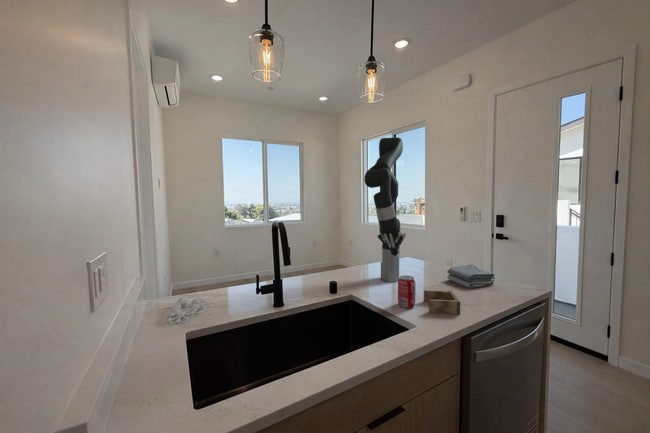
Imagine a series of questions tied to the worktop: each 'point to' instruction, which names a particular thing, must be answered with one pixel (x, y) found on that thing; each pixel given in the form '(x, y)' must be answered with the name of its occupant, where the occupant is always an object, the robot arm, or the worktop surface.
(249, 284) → the worktop surface
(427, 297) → the wooden tray
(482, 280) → the towel
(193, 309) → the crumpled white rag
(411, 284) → the soda can
